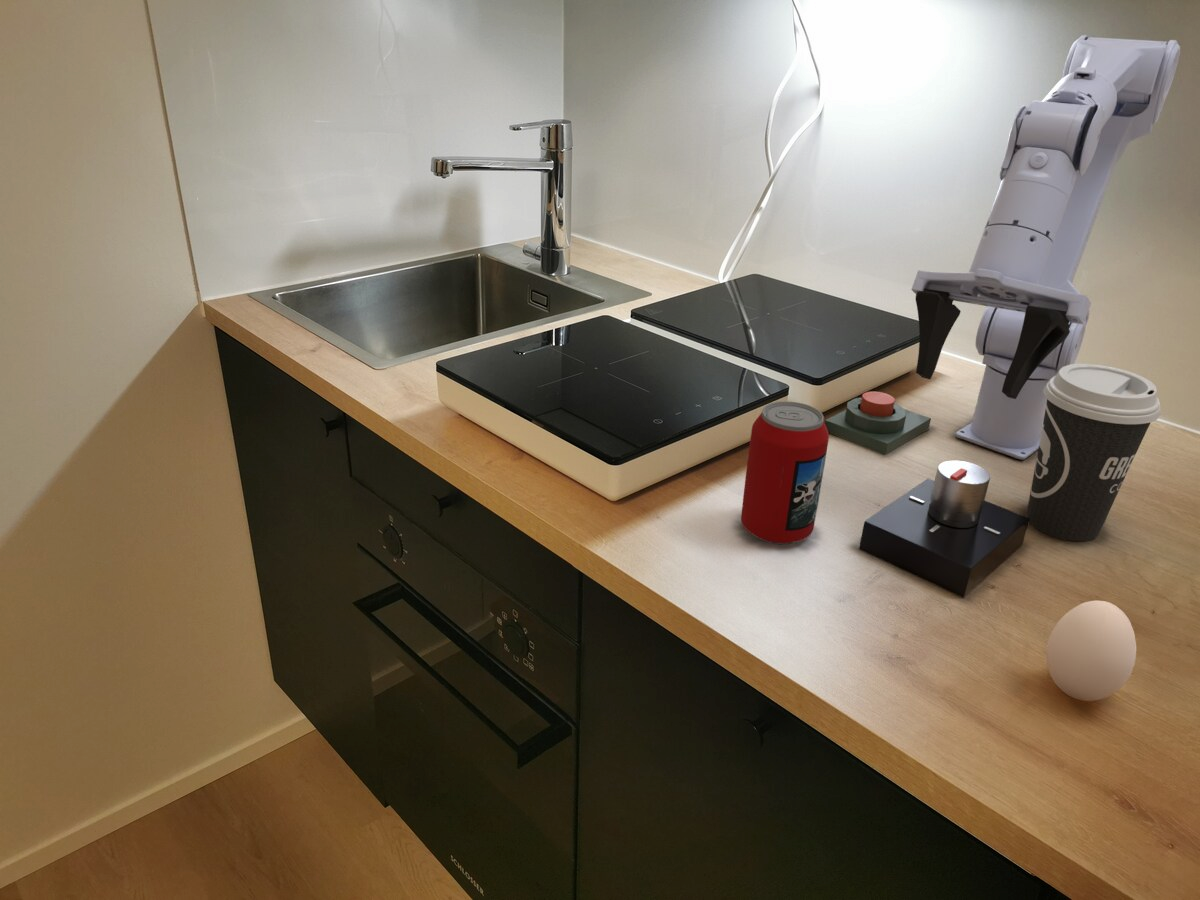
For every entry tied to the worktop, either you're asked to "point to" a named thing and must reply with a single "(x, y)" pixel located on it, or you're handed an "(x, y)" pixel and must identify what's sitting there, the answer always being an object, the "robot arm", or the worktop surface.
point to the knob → (958, 493)
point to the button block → (877, 427)
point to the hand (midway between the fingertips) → (964, 385)
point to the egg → (1091, 651)
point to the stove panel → (942, 541)
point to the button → (877, 404)
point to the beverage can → (784, 472)
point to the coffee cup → (1087, 446)
